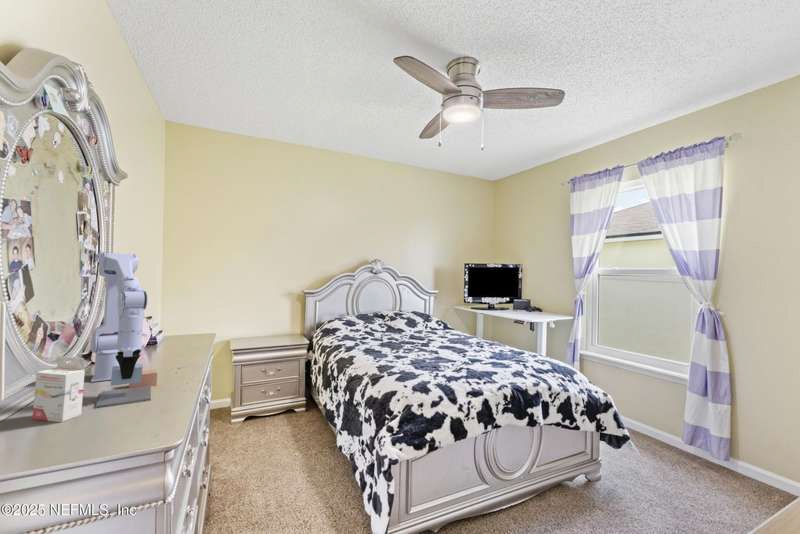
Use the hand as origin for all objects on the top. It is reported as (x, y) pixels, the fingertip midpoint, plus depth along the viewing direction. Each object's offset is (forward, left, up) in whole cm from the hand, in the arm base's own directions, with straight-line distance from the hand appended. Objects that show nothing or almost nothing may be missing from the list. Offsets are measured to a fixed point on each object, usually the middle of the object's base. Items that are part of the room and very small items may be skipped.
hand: (127, 376), depth 101 cm
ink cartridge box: (+10, -13, -6) cm, 18 cm away
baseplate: (0, 0, -6) cm, 6 cm away
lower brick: (0, 0, -2) cm, 2 cm away
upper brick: (-10, +4, -6) cm, 12 cm away
